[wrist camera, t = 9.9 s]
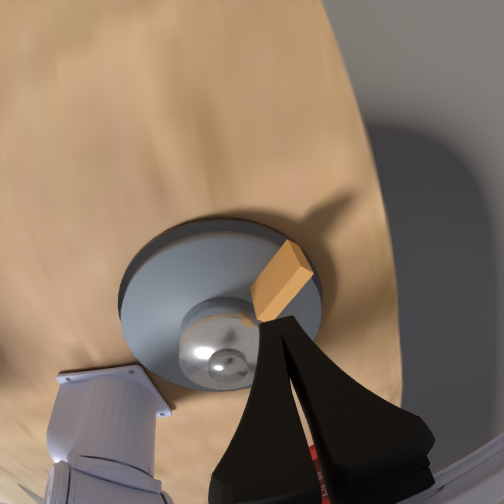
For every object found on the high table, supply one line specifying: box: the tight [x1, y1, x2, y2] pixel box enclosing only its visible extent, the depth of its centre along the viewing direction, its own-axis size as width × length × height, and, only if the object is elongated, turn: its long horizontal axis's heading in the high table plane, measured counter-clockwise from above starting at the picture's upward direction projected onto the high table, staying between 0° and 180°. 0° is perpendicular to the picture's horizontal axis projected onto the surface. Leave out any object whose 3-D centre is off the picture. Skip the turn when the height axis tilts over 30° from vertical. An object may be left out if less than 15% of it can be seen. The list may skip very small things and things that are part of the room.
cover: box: [179, 297, 262, 390], centre depth 20 cm, size 6×6×4 cm
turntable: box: [121, 230, 322, 391], centre depth 21 cm, size 15×14×4 cm
